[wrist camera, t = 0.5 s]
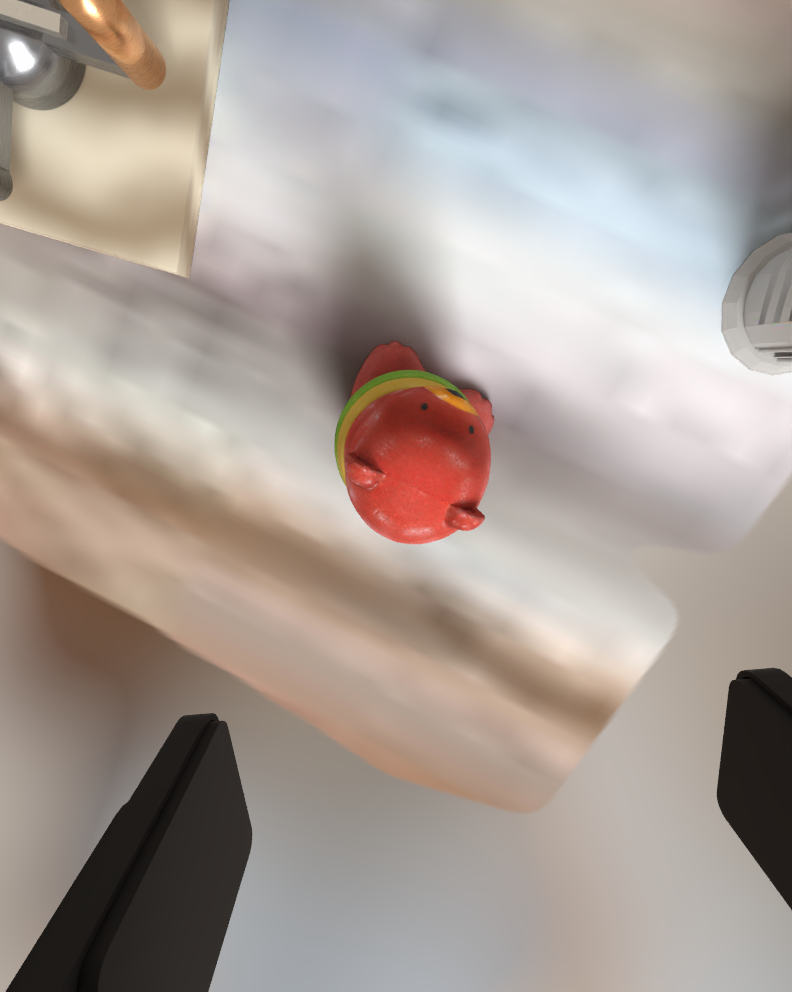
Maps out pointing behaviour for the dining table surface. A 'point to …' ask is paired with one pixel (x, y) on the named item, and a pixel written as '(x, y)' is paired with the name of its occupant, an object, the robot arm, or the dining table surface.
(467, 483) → the stacking bear
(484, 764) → the dining table surface
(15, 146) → the stand
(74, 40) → the capstan
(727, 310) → the french press
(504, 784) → the dining table surface
